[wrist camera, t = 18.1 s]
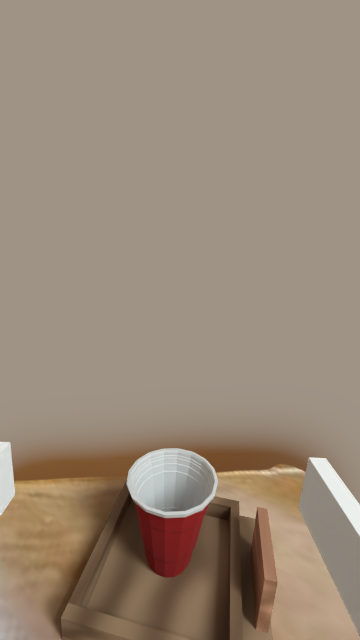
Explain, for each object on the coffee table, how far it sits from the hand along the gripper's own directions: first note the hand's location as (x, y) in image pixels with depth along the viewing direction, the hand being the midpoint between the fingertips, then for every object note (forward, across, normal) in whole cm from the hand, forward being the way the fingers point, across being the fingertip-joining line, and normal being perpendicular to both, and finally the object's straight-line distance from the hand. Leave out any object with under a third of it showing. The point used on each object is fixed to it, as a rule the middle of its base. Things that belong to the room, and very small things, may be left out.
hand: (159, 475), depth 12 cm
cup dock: (+15, +3, -28) cm, 32 cm away
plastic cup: (+17, +1, -28) cm, 33 cm away
